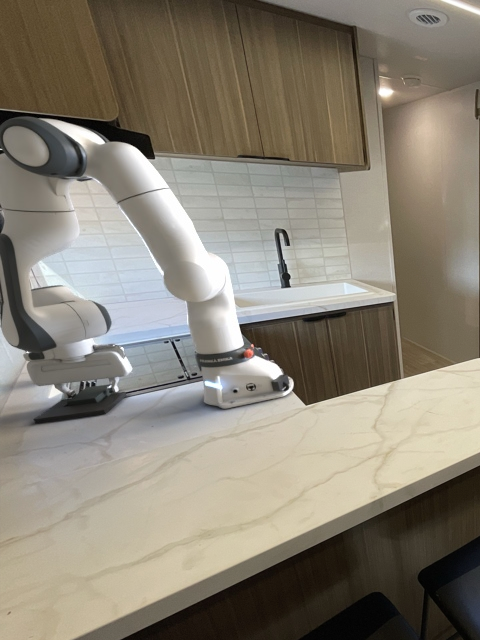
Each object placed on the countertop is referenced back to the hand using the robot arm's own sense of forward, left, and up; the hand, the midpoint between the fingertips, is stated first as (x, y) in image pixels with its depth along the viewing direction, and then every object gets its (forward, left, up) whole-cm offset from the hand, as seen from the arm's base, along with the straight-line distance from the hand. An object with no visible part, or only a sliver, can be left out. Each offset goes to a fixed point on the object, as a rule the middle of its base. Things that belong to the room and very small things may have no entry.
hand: (93, 394), depth 112 cm
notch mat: (0, +6, -2) cm, 6 cm away
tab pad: (0, 0, -2) cm, 2 cm away
